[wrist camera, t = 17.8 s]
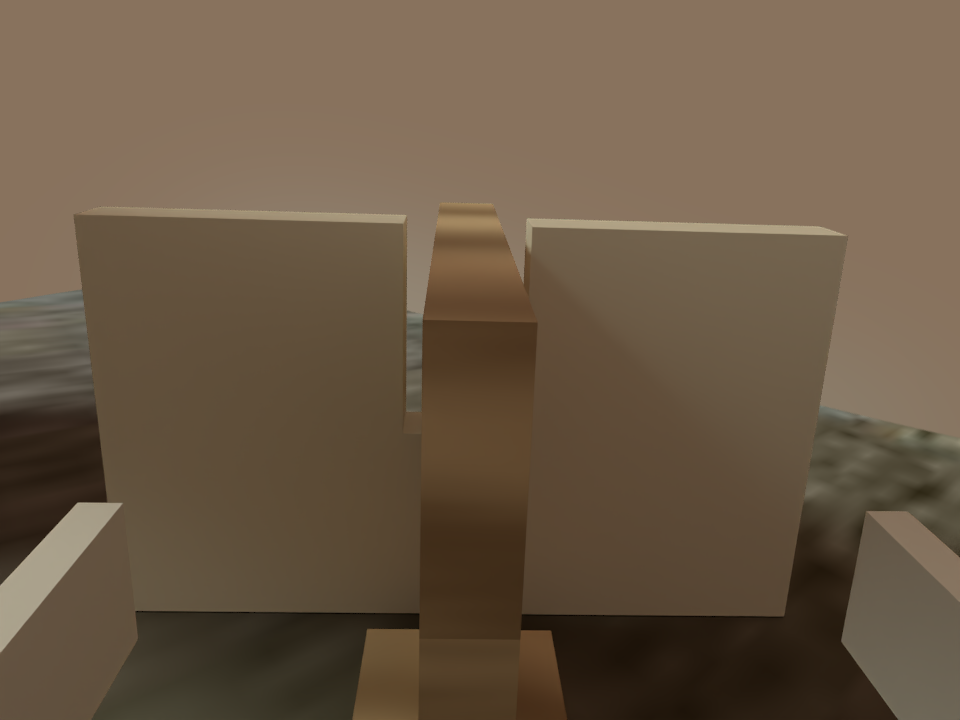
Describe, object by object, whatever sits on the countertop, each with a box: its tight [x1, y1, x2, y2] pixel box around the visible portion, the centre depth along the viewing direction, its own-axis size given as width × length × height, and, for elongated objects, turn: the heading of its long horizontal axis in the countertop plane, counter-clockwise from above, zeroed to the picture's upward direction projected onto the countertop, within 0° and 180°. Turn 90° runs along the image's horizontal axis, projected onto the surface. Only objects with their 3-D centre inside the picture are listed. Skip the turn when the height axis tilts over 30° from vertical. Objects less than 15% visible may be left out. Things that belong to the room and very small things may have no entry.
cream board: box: [74, 207, 848, 616], centre depth 28 cm, size 24×2×14 cm, turn 92°
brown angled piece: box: [352, 203, 567, 720], centre depth 25 cm, size 18×6×14 cm, turn 2°
